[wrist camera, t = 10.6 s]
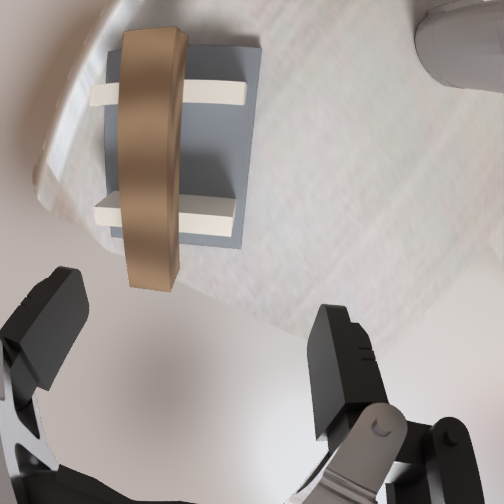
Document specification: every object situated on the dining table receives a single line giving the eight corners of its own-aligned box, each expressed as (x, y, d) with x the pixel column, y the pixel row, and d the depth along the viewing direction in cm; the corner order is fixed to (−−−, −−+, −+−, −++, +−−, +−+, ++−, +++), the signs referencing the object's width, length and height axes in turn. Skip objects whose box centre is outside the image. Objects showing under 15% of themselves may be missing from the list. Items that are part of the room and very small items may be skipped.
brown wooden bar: (143, 39, 19) (124, 31, 15) (188, 36, 19) (176, 26, 15) (142, 264, 30) (129, 286, 26) (179, 268, 30) (170, 292, 26)
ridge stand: (114, 52, 24) (84, 47, 19) (261, 50, 25) (262, 38, 19) (116, 231, 35) (93, 257, 29) (241, 243, 36) (238, 273, 30)
